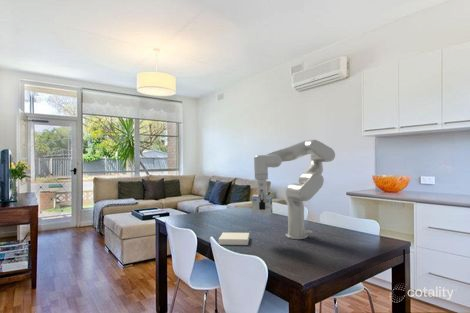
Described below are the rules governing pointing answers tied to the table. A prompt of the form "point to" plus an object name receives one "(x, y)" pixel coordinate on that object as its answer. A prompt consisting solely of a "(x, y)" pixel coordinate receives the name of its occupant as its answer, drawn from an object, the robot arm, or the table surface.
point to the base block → (234, 239)
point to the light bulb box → (268, 205)
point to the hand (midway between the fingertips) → (262, 208)
